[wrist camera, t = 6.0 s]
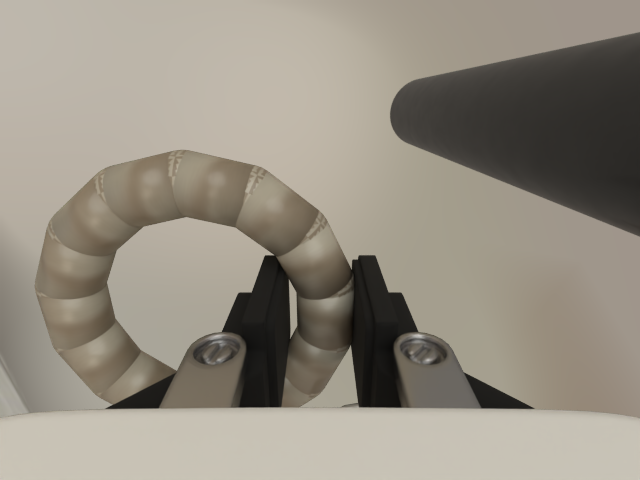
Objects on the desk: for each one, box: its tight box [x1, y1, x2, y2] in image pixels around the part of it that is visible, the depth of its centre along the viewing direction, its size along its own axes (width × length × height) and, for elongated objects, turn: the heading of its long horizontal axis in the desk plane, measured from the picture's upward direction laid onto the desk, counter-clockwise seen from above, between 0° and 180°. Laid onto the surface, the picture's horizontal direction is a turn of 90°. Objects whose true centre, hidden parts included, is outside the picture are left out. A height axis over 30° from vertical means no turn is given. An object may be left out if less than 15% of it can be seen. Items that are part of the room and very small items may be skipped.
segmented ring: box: [35, 150, 354, 408], centre depth 11 cm, size 10×10×2 cm
